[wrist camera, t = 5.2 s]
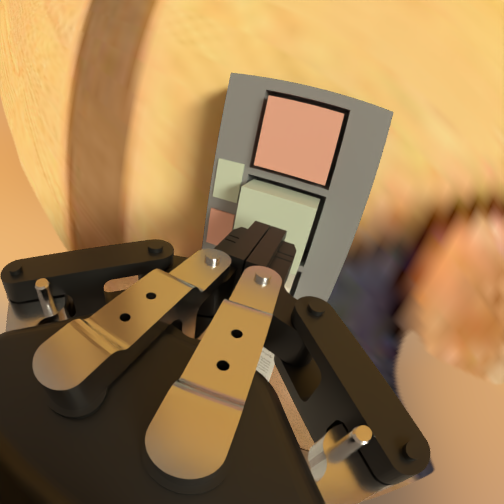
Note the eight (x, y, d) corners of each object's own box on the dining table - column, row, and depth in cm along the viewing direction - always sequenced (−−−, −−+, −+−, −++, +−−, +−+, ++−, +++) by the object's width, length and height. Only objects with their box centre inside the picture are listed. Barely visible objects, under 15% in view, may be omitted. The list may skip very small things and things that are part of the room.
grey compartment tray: (314, 313, 22) (308, 341, 19) (214, 277, 24) (195, 299, 21) (384, 114, 14) (393, 111, 11) (249, 80, 16) (230, 72, 13)
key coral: (327, 179, 16) (324, 185, 14) (263, 160, 16) (253, 165, 15) (344, 115, 14) (344, 113, 12) (277, 98, 14) (268, 95, 13)
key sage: (301, 259, 17) (295, 275, 15) (241, 239, 18) (229, 252, 16) (320, 199, 15) (316, 209, 13) (253, 179, 16) (241, 186, 14)
